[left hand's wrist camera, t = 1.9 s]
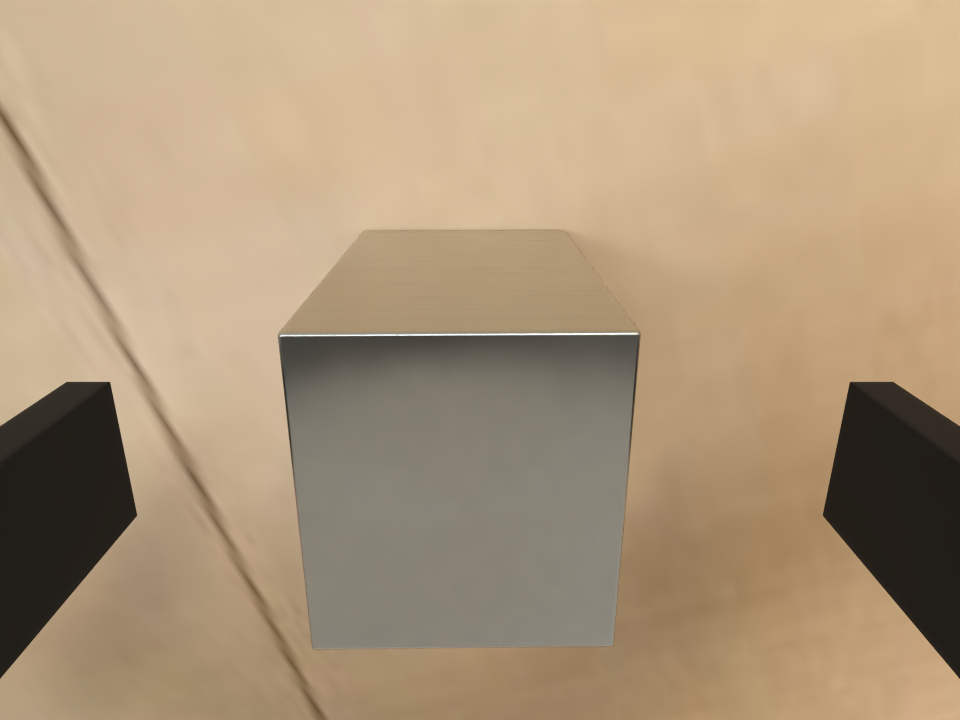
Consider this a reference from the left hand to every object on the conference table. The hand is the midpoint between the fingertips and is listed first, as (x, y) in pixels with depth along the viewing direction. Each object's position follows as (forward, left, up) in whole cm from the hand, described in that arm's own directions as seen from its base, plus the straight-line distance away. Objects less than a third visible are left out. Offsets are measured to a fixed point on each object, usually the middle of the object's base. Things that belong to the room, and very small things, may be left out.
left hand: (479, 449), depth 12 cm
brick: (0, 0, -6) cm, 6 cm away
